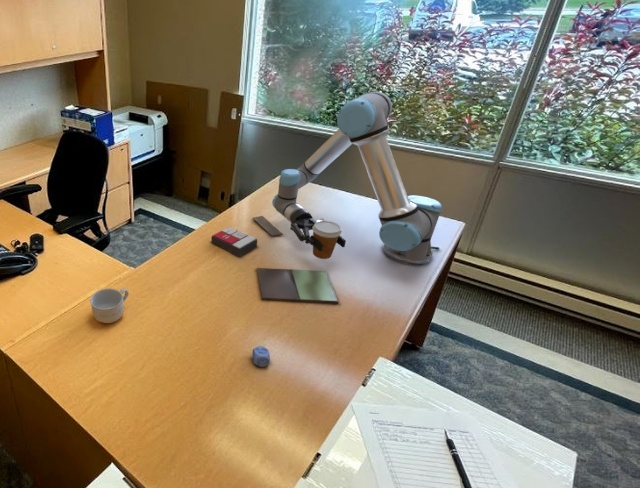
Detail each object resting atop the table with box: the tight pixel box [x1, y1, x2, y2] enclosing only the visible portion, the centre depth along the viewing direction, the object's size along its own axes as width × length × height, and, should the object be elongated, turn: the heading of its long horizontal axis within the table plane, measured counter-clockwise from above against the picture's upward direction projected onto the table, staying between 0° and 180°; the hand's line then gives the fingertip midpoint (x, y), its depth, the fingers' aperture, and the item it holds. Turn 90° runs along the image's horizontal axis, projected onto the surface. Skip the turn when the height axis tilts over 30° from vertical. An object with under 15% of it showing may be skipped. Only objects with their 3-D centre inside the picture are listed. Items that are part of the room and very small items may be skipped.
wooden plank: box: [252, 215, 283, 237], centre depth 181 cm, size 17×1×5 cm
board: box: [256, 267, 339, 305], centre depth 145 cm, size 24×17×1 cm
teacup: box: [89, 288, 130, 324], centre depth 137 cm, size 14×11×8 cm
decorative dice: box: [251, 345, 271, 368], centre depth 117 cm, size 4×4×4 cm
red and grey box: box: [211, 226, 258, 257], centre depth 170 cm, size 11×4×15 cm
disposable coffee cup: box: [312, 220, 342, 260], centre depth 151 cm, size 10×10×12 cm
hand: (332, 246), depth 147 cm, fingers closed on disposable coffee cup, 8 cm apart
